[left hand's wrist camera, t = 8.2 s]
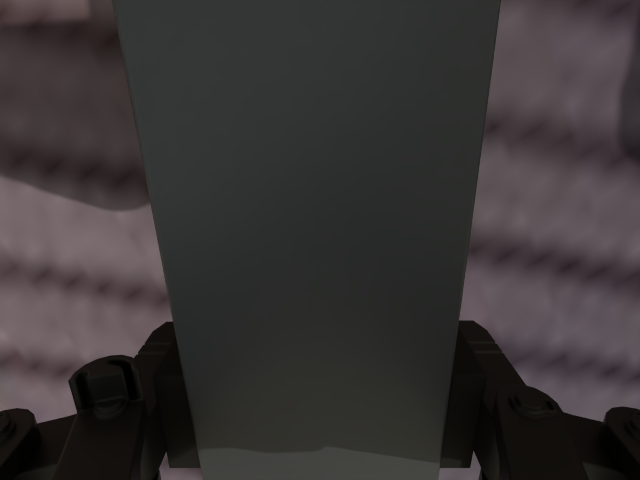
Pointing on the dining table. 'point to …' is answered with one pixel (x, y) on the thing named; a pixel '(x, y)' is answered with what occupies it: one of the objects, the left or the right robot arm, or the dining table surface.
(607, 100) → the dining table surface
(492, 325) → the dining table surface
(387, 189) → the bar
